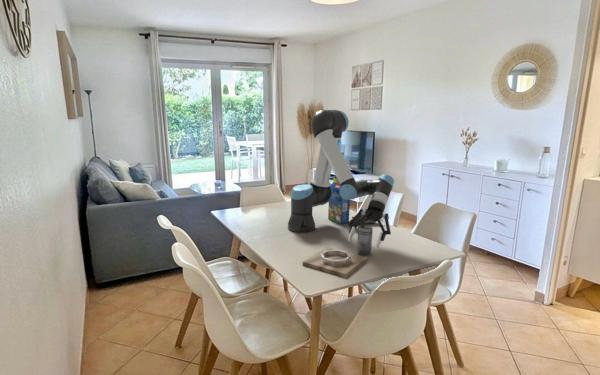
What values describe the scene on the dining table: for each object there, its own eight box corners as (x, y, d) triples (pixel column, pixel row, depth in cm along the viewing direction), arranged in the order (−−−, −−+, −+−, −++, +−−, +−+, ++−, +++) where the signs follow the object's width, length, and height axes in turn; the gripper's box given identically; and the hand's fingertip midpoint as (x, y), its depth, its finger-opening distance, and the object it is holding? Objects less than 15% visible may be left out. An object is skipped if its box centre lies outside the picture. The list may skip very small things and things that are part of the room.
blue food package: (336, 217, 216) (337, 177, 211) (349, 222, 206) (350, 180, 201) (327, 219, 213) (329, 178, 208) (340, 224, 203) (342, 181, 198)
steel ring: (315, 260, 149) (315, 256, 149) (330, 251, 159) (330, 247, 158) (341, 267, 142) (341, 263, 142) (354, 258, 152) (354, 253, 152)
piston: (354, 253, 161) (355, 228, 158) (360, 249, 166) (361, 224, 164) (367, 257, 157) (369, 231, 155) (373, 252, 162) (375, 227, 160)
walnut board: (302, 264, 148) (302, 261, 148) (326, 250, 164) (326, 247, 164) (345, 277, 137) (345, 274, 137) (366, 260, 153) (367, 257, 153)
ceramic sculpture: (380, 210, 200) (354, 212, 200) (380, 225, 202) (354, 226, 202) (376, 206, 211) (351, 207, 210) (376, 220, 212) (351, 221, 212)
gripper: (405, 212, 164) (391, 253, 155) (355, 204, 177) (340, 241, 168) (402, 203, 158) (388, 245, 149) (351, 195, 172) (335, 233, 163)
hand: (363, 243), depth 159 cm, fingers open, 13 cm apart
